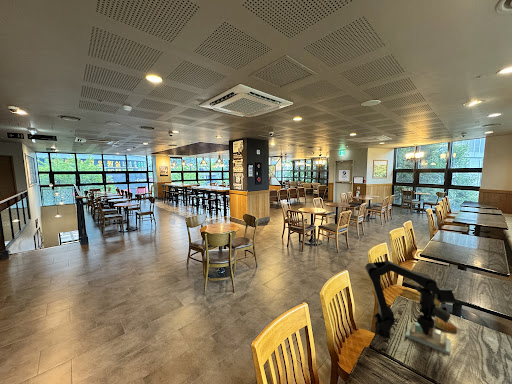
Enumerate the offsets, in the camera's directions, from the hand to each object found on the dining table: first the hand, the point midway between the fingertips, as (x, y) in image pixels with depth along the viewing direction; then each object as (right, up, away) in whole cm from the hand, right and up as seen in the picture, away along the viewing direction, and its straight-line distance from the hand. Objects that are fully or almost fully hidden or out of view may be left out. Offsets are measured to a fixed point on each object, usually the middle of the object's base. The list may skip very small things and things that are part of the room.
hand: (427, 329), depth 106 cm
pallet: (0, -4, 0) cm, 4 cm away
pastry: (+17, -5, +10) cm, 21 cm away
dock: (0, -7, 0) cm, 6 cm away
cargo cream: (+3, -2, -3) cm, 4 cm away
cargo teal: (-2, -2, +3) cm, 4 cm away
